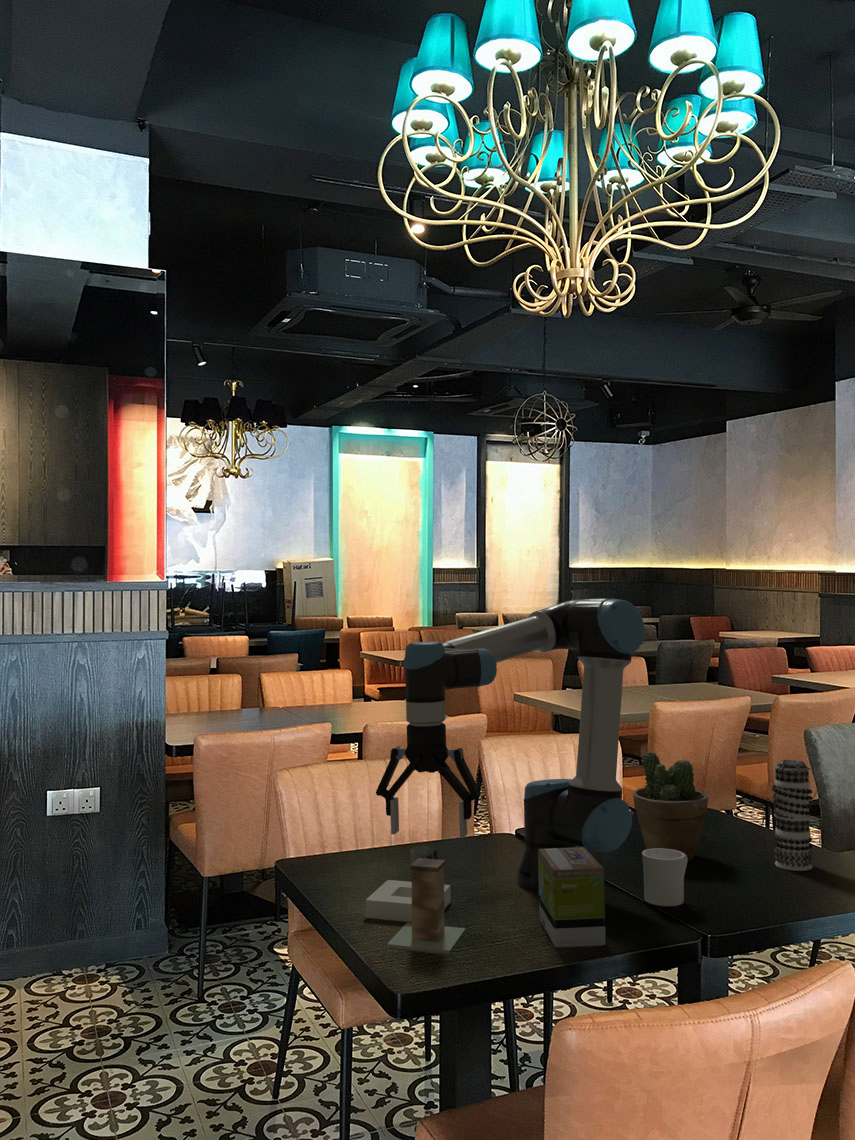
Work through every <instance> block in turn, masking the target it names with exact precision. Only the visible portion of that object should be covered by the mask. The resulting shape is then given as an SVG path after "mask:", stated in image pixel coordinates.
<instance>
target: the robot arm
mask: <svg viewBox="0 0 855 1140" xmlns="http://www.w3.org/2000/svg"><path fill="white" fill-rule="evenodd" d="M645 631H646V630H645V622H644V620H643V617H642V615H641V613H640V611H638V609H637V607H636V606H635V605H634V604H633V603H631V602H630V601H627V600H624V599H620V598H619V599H617V598H613V597H612V598H589V599H588V598H587V599H586V598H585V599H584V598H577V599H572V600H571V599H570V600H567V601H563V602H560V603H558V604H557V603H556V604H553V605H551V606H548V607H545V608H542V609H539V610H535V611H533V612H531V613H530V614H529V615H528V617H526V618H524V619H520V620H517V621H513V622H509V623H507V624H506V623H505V624H502V625H499V626H496V627H491V628H488V629H486V630H485V629H484V630H482V631H479V632H478V631H477V632H475V633H471V634H468V635H465V636H461V637H457V638H455V639H451V640H447V641H444V642H440V641H415V642H413V641H412V642H409V643H408V644H407V645H405V650H404V653H405V654H404V658H403V671H404V677H405V679H404V681H405V683H404V684H405V708H406V709H405V711H406V715H405V718H406V719H405V720H406V722H407V723H408V724H407V725H406V748H401V747H400V746H397V745H396V746H395V747H393V748H392V749H391V750H390V759H389V762H388V763H387V767H386V768H385V771H384V773H383V775H382V777H381V780H380V782H379V784H378V786H377V788H376V790H375V795H376V796H377V797H382V798H384V800H385V814H386V816H390V835H396V834H397V833H398V832H400V816H399V815H400V814H399V811H400V809H399V807H400V806H399V797H397V796H396V797H395V795H396V794H397V793H398V791H400V789H401V788H402V786H403V785H404V783H406V782H407V780H408V779H409V778H410V777H411V775H412V774H413V773H414V772H415V771H416V772H418V773H430V774H434V773H436V772H438V774H439V775H440V776H442V777H443V778H444V780H445V781H446V782H447V784H448V785H449V786H450V787H451V788H452V789H453V791H455V793H456V795H457V796H458V797H459V798H460V799H461V800H460V802H458V813H459V815H458V816H459V817H458V818H459V838H460V839H464V838H466V837H467V835H468V820H470V819H471V818H472V815H473V814H472V813H473V811H472V802H473V801H475V800H478V799H479V798H480V797H481V795H482V792H481V790H480V788H479V786H478V784H477V782H476V780H475V778H474V776H473V774H472V773H471V770H470V768H469V766H468V765H467V762H466V761H465V756H464V750H463V748H462V747H457V749H448V747H447V726H446V724H445V720H446V690H447V691H448V690H453V689H464V688H465V689H466V688H480V687H484V686H487V685H488V686H489V685H490V684H492V683H493V682H494V681H495V679H496V677H497V673H498V667H497V663H501V662H504V661H506V660H507V661H508V660H510V659H513V658H517V657H520V656H524V655H527V654H529V653H532V652H536V651H538V652H541V653H548V652H551V651H557V650H575V651H577V659H578V660H579V661H580V663H581V664H582V665H583V675H582V676H583V677H582V686H581V687H582V689H581V690H582V692H581V703H580V718H579V728H578V729H579V730H578V743H577V745H578V746H577V757H576V772H575V773H576V774H575V776H574V777H573V778H572V779H571V778H551V779H541V780H534V781H530V782H528V783H527V784H526V785H525V786H524V796H523V825H524V826H523V827H524V828H523V829H524V849H523V852H522V855H521V858H520V862H519V865H518V868H517V870H516V871H517V872H516V873H517V874H516V876H517V878H516V880H517V883H518V884H519V885H520V886H522V887H524V888H527V889H530V890H534V891H538V892H539V868H538V849H551V848H572V847H585V848H586V850H589V851H591V852H592V851H593V852H594V851H595V852H601V853H609V852H611V853H612V852H613V851H616V850H617V849H619V848H620V847H621V846H622V844H623V843H625V841H626V840H627V839H628V836H629V834H630V833H631V829H632V825H633V814H632V809H631V808H630V806H629V804H628V803H627V802H625V800H623V787H622V786H621V784H619V782H618V781H617V772H618V771H617V769H618V754H619V740H620V726H621V725H620V724H621V711H622V709H621V708H622V697H623V696H622V695H623V682H624V681H623V680H624V679H623V678H624V670H625V668H626V667H627V666H629V665H630V664H631V663H632V655H633V653H635V652H637V651H638V650H639V649H640V648H641V645H642V644H643V642H644V640H645V639H644V638H645V635H646V634H645ZM404 756H405V758H406V759H407V761H408V762H409V763H408V765H407V766H406V767H405V769H404V770H403V771H402V772H401V774H400V776H398V778H397V779H396V781H394V782H393V784H392V785H391V787H390V788H389V789H388V786H389V784H390V782H391V780H392V778H393V776H394V773H395V772H396V769H397V767H398V764H399V763H400V760H402V759H403V758H404ZM448 758H451V761H452V762H454V764H455V766H456V768H457V771H458V773H459V774H460V776H461V778H462V780H463V783H464V784H463V783H462V782H461V781H460V780H459V778H458V777H457V776H456V774H455V773H454V772H453V770H451V767H450V766H449V765H448V763H447V762H446V761H447V759H448ZM465 785H466V786H465Z"/></svg>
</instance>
